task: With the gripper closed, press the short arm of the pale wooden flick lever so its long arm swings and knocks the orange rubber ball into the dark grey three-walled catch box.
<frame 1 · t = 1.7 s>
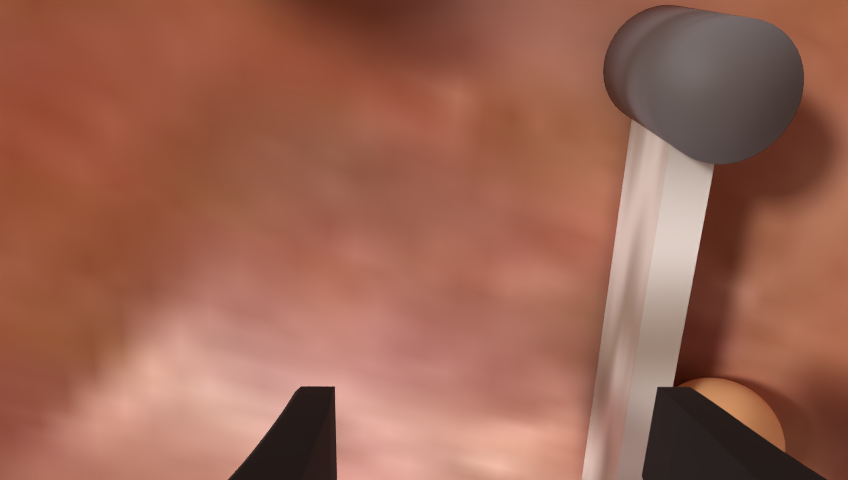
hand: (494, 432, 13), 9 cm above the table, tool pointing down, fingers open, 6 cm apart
lever: (651, 316, 20), point 3 cm above the table, hinge at 0.0°
ball: (715, 441, 22), point 2 cm above the table
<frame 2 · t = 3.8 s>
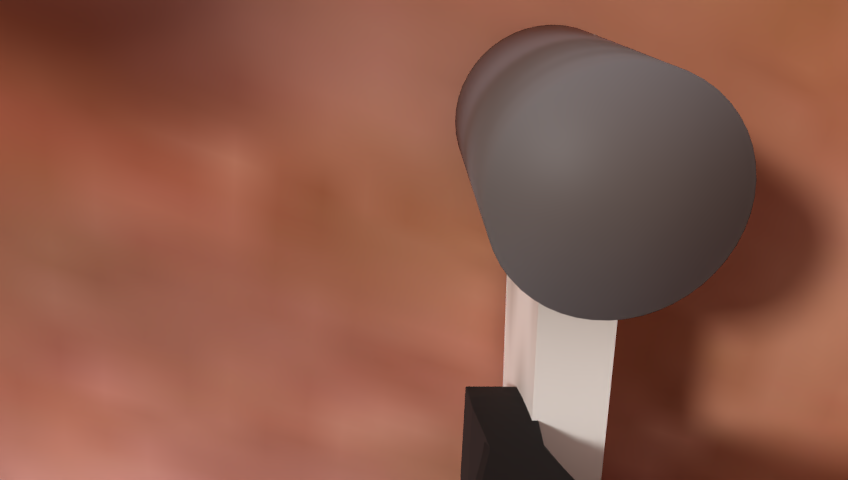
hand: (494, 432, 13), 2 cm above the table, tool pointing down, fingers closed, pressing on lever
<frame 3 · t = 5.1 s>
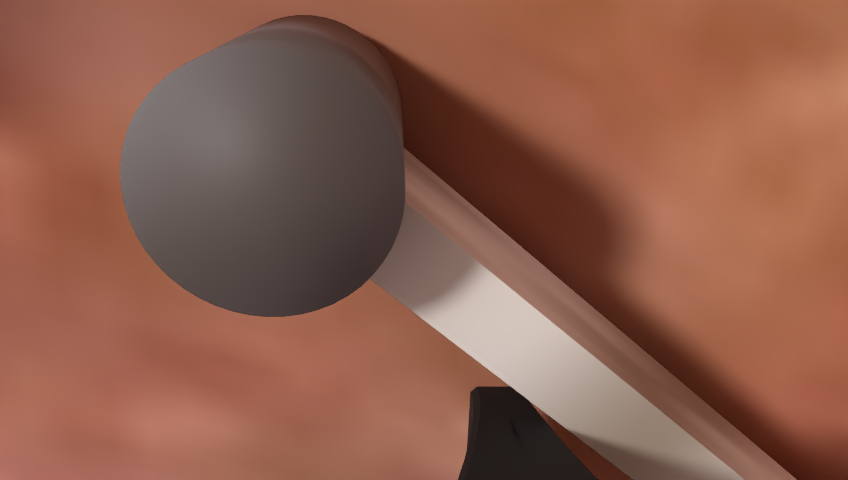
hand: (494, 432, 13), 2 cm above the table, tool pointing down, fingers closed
lever: (608, 398, 12), point 3 cm above the table, hinge at 50.1°, touching gripper
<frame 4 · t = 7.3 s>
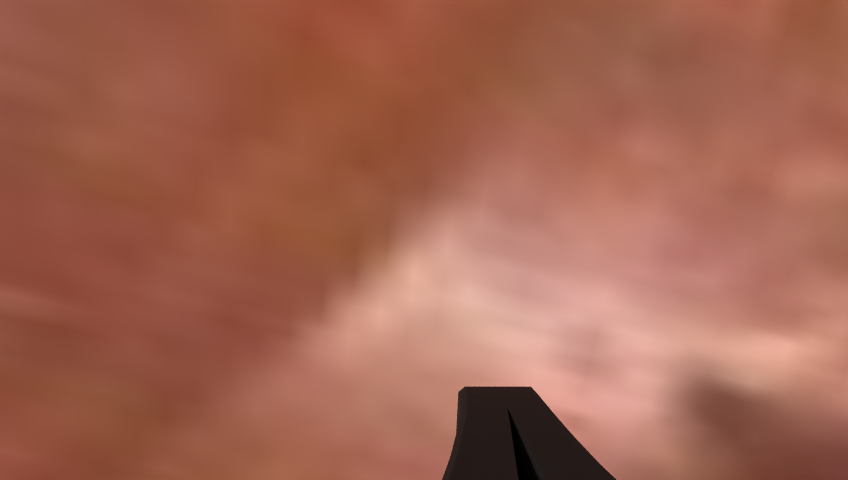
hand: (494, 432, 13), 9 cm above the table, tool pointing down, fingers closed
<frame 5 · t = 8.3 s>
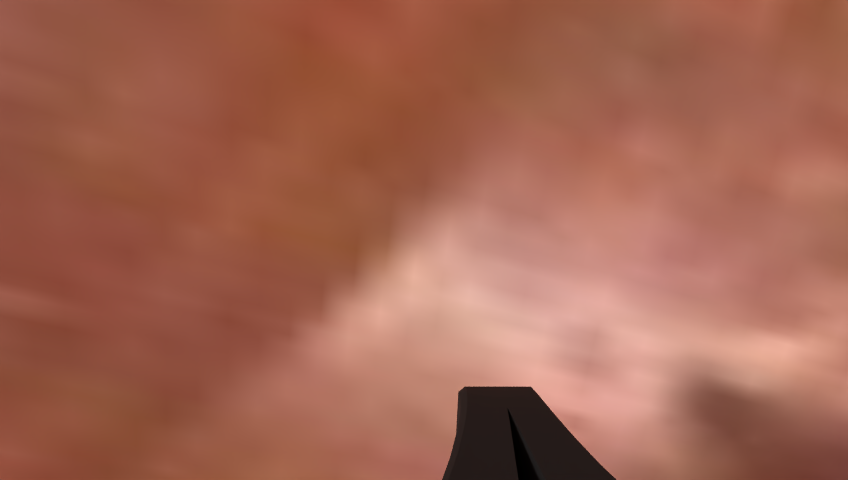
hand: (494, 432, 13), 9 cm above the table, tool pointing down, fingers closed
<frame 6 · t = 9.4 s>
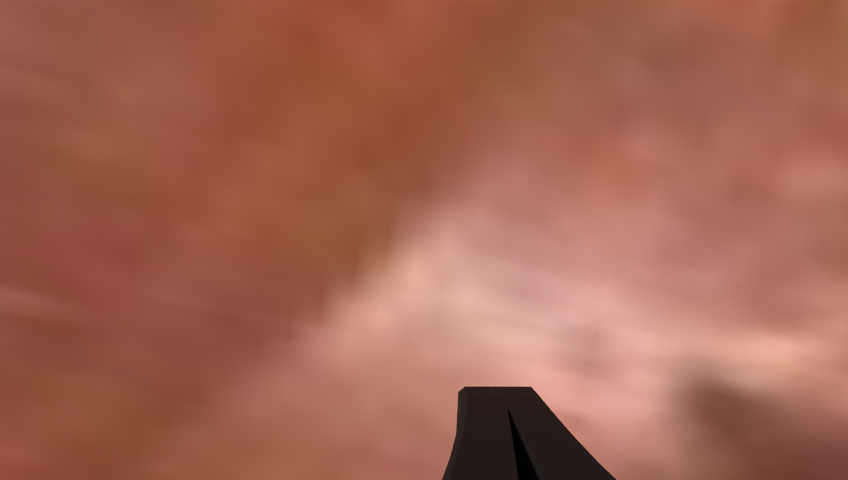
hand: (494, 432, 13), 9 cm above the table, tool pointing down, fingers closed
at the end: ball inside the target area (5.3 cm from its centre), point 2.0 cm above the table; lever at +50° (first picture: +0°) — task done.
